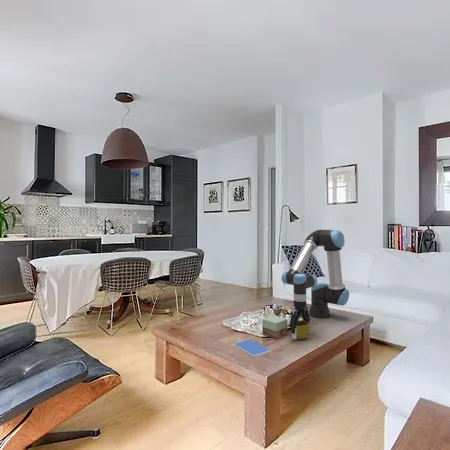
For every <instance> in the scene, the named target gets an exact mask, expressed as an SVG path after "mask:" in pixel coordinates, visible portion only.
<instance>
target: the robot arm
mask: <svg viewBox="0 0 450 450" xmlns="http://www.w3.org/2000/svg"><path fill="white" fill-rule="evenodd" d="M344 246H345V236H344V234H343V232H342V231H340V230H338V229H337V230H336V229H317V230H314V231H313V232H311V233H310V234H309V235H308V236H307V237H306V238H305V239H304V241H303V246H302V247H301V249H300V251H299V252H298V255H297V257H295V259H294V262H293V263H292V265H291V266H290V268H289V269H288V271H285V272H283V273H282V275H281V281H282V282H283V284H286V285H290V286H293V307H294V310H291V316H290V319H289V320H290V321H289V325H288V327H289V328H291V338H292V339H294V340H298V339H297V328H296V325H297V322H298V321H299V318H302V320H304V321H305V322H307V323H308V324H310V321H311V318H310V316H311V317H312V318H318V319H319V318H320V319H326V318H330V317H331V311H330V308H329V304H332V305H337V306H345V305H346V304H347V303H348V301H349V297H350V290H349V289H347V288H346V285H345V284H344V283H343V274H342V273H343V272H342V263H341V250H342V249H343V247H344ZM318 247H323V250H324V251H325V252H326V259H327V269H328V278H329V284H328V283H325V282H323V283H322V282H320V283H319V282H318V278H317V276H316V275H315V274H304V273H302V272H303V270H304V268H305V267H306V265H307V263H308V261H309V259H310V258H311V256H312V254H313V253H314V251H316V250H317V249H318ZM309 288H311V289H310V291H311V294H310V295H311V297H310V299H311V300H310V301H311V303H310V304H311V305H310V307H308V306H307V289H309Z"/></svg>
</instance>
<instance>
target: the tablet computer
mask: <svg viewBox="0 0 450 450" xmlns="http://www.w3.org/2000/svg"><path fill="white" fill-rule="evenodd" d="M233 346H234V347H236V348H238V349H239V350H240V351H243V352H244V353H246V354H248V355H249V356H250V357H252V358H255V357H258V356H261V355H265V354H268V353H271V349H268V348H266V347H265V346H263V345H261V344H260V343H258V342H255V341H254V340H252V339H248V340H244V341H243V340H242V341H239V342H235V343H233Z"/></svg>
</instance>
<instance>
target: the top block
mask: <svg viewBox="0 0 450 450" xmlns="http://www.w3.org/2000/svg"><path fill="white" fill-rule="evenodd" d="M261 320H262V321H261V322H262V323H261V324H262V325H261V326H262V327H264V328H267V329H270V330H273V331H279V330H281V329H284V328H286V327H287V328H288V319H287V318H284V317H281V316H278V315H275V314H273V315H269V316H267V317H263V318H262V319H261ZM262 327H261V328H262Z"/></svg>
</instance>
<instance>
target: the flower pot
mask: <svg viewBox="0 0 450 450" xmlns="http://www.w3.org/2000/svg"><path fill="white" fill-rule="evenodd" d="M296 328H297V339H296V340H304V339H307V337H308V336H309V333H310V323H307V322H305V321H304V320H303V319H302V320H298V322H297V325H296Z"/></svg>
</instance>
